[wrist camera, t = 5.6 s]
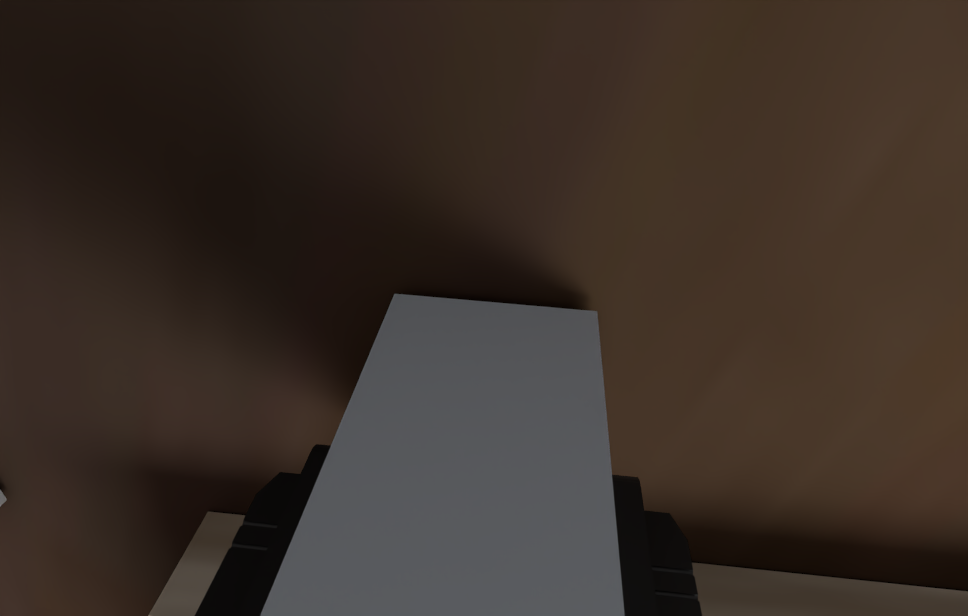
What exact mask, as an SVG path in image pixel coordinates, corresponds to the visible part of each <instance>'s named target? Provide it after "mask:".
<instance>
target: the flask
mask: <svg viewBox="0 0 968 616" xmlns="http://www.w3.org/2000/svg"><path fill="white" fill-rule="evenodd" d="M6 500H7V499H6V498H5V496H4V495H3V493H2V491H1V490H0V506H1V505H2V504H3V503H4V502H5V501H6Z"/></svg>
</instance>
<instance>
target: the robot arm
mask: <svg viewBox="0 0 968 616" xmlns="http://www.w3.org/2000/svg"><path fill="white" fill-rule="evenodd" d="M330 447H331V446H328V445H318V444H317V445H315V446H314V447H313V449H312V450H311V452H310V454H309V457H308V459H307V461H306V463H305V466H304V468H303V470H302V472H301V474H293V473H283V472H280V473H279V474H278V475H277V476H276V477H274V478H273V479H272V480H271V481H270V482H269V483H268V484H267V485H266V486H265V487H264V488H262V489H261V490H260V491H259V492H258V493H257V494H256V496H255V498H254V500H253V502H252V504H251V506H250V508H249V510H248V512H247V514H246V516H245V518H244V520H243V525H242V526H240V527H239V529H238V531H237V533H236V535H235V537H234V539H233V541H232V546H231V548H229V549H228V551H227V553H226V555H225V557H224V559H223V561H222V563H221V565H220V567H219V569H218V571H217V573H216V575H215V577H214V579H213V581H212V583H211V584H210V586H209V588H208V590H207V592H206V594H205V596H204V598H203V600H202V602H201V604H200V606H199V608H198V610H197V612H196V614H195V616H260V615H261V612H262V610H263V608H264V605H265V603H266V600H267V598H268V596H269V593H270V591H271V588H272V586H273V584H274V581H275V579H276V576H277V574H278V572H279V569H280V567H281V564H282V562H283V560H284V557H285V555H286V552H287V550H288V548H289V545H290V543H291V540H292V538H293V536H294V533H295V531H296V529H297V526H298V524H299V521H300V519H301V517H302V514H303V512H304V509H305V507H306V505H307V502H308V500H309V497H310V495H311V493H312V490H313V488H314V485H315V483H316V481H317V478H318V476H319V473H320V471H321V469H322V466H323V464H324V461H325V459H326V457H327V454H328V452H329V449H330ZM612 481H613V492H614V503H615V514H616V526H617V537H618V548H619V559H620V570H621V581H622V592H623V603H624V614H625V616H702V612H701V607H700V601H698V591H697V586H696V581H695V576H693V566H692V561H691V556H690V551H689V546H688V541H687V539H686V537H685V536H684V534H683V533H682V531H681V530H680V528H679V527H678V525H677V524H676V522H675V521H674V519H673V518H672V516H671V515H670V513H662V512H652V511H644V507H643V500H642V493H641V486H640V481H639V479H638V477H629V476H619V475H612Z"/></svg>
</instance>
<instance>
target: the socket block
mask: <svg viewBox="0 0 968 616" xmlns="http://www.w3.org/2000/svg"><path fill="white" fill-rule="evenodd" d="M245 516H246V515H237V514H227V513H218V512H207V514H206V516H205V517H204V519H203V521H202V523H201V524H200V526H199V528H198V530H197V531H196V533H195V535H194V537H193V538H192V540H191V542H190V544H189V545H188V547H187V549H186V551H185V552H184V554H183V556H182V558H181V559H180V561H179V563H178V565H177V566H176V568H175V570H174V572H173V573H172V575H171V577H170V579H169V580H168V582H167V584H166V586H165V587H164V589H163V591H162V593H161V594H160V596H159V598H158V600H157V601H156V603H155V605H154V607H153V608H152V610H151V612H150V614H149V616H195V614H196V612H197V610H198V608H199V606H200V604H201V602H202V600H203V598H204V596H205V594H206V592H207V590H208V588H209V586H210V584H211V583H212V581H213V579H214V577H215V575H216V573H217V571H218V569H219V567H220V565H221V563H222V561H223V559H224V557H225V555H226V553H227V551H228V549H229V548H231V546H232V541H233V539H234V537H235V535H236V533H237V531H238V529H239V527H240V526H242V525H243V520H244V518H245ZM692 566H693V576H695V581H696V586H697V591H698V601H700V607H701V612H702V616H968V591H958V590H949V589H939V588H930V587H920V586H911V585H901V584H892V583H882V582H873V581H863V580H854V579H844V578H835V577H825V576H816V575H806V574H797V573H787V572H778V571H768V570H759V569H749V568H740V567H730V566H721V565H711V564H702V563H692Z"/></svg>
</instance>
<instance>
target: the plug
mask: <svg viewBox="0 0 968 616" xmlns="http://www.w3.org/2000/svg"><path fill="white" fill-rule="evenodd" d="M260 616H625V614H624V603H623V592H622V581H621V570H620V559H619V548H618V537H617V526H616V514H615V503H614V492H613V481H612V470H611V459H610V448H609V437H608V426H607V415H606V404H605V393H604V382H603V371H602V360H601V349H600V338H599V327H598V315H597V311H588V310H577V309H565V308H554V307H542V306H531V305H519V304H508V303H496V302H485V301H473V300H462V299H450V298H439V297H427V296H416V295H404V294H394V296H393V298H392V301H391V303H390V305H389V308H388V310H387V313H386V315H385V317H384V320H383V322H382V325H381V327H380V329H379V332H378V334H377V337H376V339H375V341H374V344H373V346H372V349H371V351H370V353H369V356H368V358H367V361H366V363H365V365H364V368H363V370H362V373H361V375H360V377H359V380H358V382H357V385H356V387H355V389H354V392H353V394H352V397H351V399H350V401H349V404H348V406H347V409H346V411H345V413H344V416H343V418H342V421H341V423H340V425H339V428H338V430H337V433H336V435H335V437H334V440H333V442H332V445H331V447H330V449H329V452H328V454H327V457H326V459H325V461H324V464H323V466H322V469H321V471H320V473H319V476H318V478H317V481H316V483H315V485H314V488H313V490H312V493H311V495H310V497H309V500H308V502H307V505H306V507H305V509H304V512H303V514H302V517H301V519H300V521H299V524H298V526H297V529H296V531H295V533H294V536H293V538H292V540H291V543H290V545H289V548H288V550H287V552H286V555H285V557H284V560H283V562H282V564H281V567H280V569H279V572H278V574H277V576H276V579H275V581H274V584H273V586H272V588H271V591H270V593H269V596H268V598H267V600H266V603H265V605H264V608H263V610H262V612H261V615H260Z"/></svg>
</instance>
